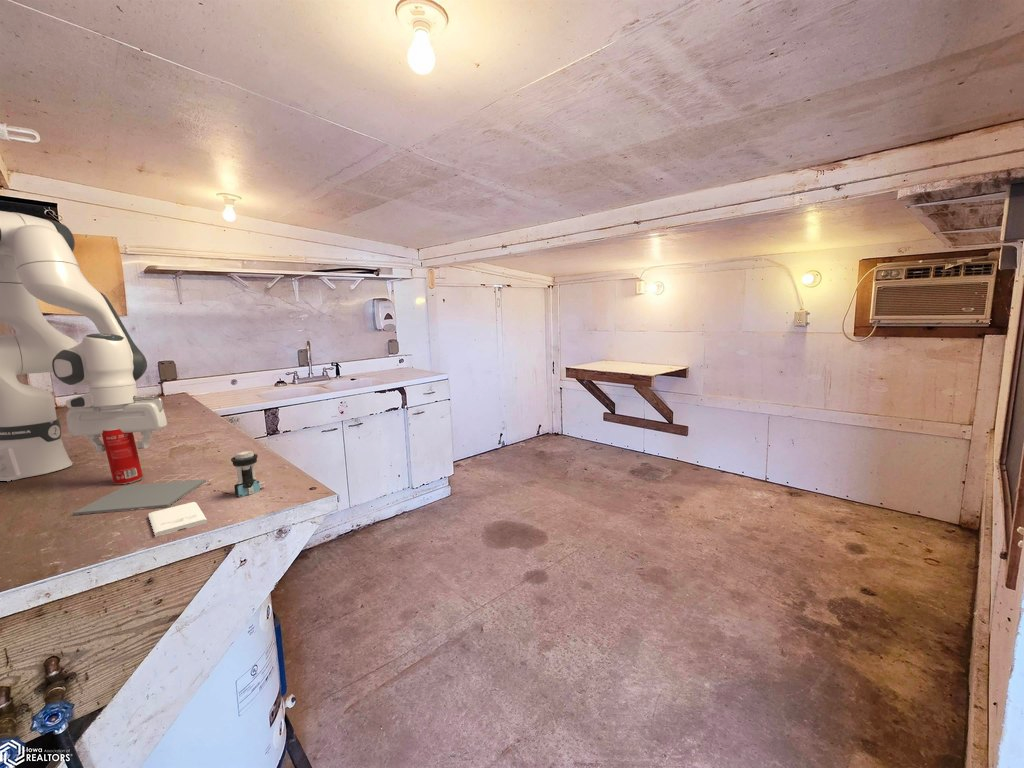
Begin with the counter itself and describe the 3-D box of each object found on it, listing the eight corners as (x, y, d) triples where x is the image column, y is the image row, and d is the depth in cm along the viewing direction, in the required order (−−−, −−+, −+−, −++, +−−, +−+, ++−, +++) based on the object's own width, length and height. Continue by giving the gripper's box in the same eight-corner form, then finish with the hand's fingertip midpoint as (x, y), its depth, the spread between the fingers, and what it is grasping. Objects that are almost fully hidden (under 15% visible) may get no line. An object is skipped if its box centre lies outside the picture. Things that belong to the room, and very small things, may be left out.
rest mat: (73, 515, 89) (72, 512, 89) (126, 487, 104) (126, 485, 104) (168, 507, 92) (167, 504, 92) (205, 481, 108) (205, 479, 108)
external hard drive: (196, 508, 93) (207, 525, 84) (148, 520, 87) (155, 540, 79) (195, 501, 93) (206, 517, 84) (147, 513, 87) (154, 532, 78)
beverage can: (148, 477, 112) (141, 423, 110) (124, 486, 105) (115, 429, 103) (129, 477, 112) (121, 423, 110) (103, 486, 106) (94, 429, 104)
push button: (259, 485, 104) (255, 447, 103) (271, 489, 101) (267, 450, 100) (230, 495, 99) (226, 454, 97) (242, 499, 96) (237, 457, 94)
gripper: (168, 393, 111) (175, 443, 112) (79, 397, 107) (87, 449, 109) (153, 396, 105) (160, 449, 106) (57, 401, 101) (67, 456, 102)
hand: (123, 449), depth 107 cm, fingers open, 8 cm apart
